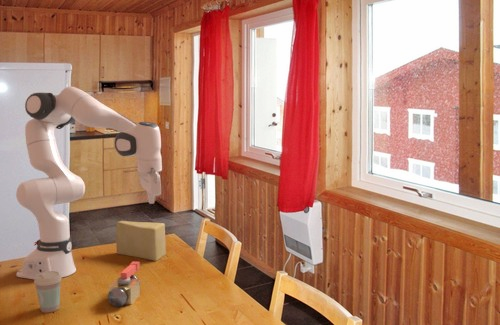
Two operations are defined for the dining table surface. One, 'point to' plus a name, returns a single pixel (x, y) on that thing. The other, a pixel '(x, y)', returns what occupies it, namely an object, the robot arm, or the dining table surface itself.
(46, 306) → the coffee cup
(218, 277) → the dining table surface
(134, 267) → the lever
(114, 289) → the valve
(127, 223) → the cheese
